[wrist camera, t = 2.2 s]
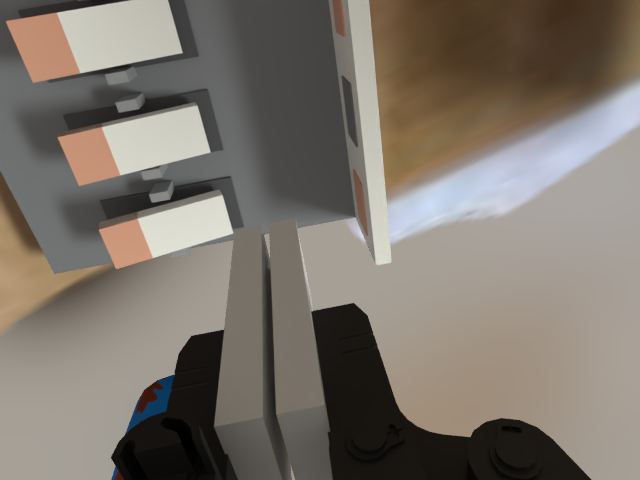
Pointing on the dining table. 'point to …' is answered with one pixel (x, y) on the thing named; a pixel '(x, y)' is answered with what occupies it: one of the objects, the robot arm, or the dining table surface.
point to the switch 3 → (165, 228)
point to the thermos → (149, 406)
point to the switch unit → (208, 123)
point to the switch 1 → (95, 38)
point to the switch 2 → (134, 143)
